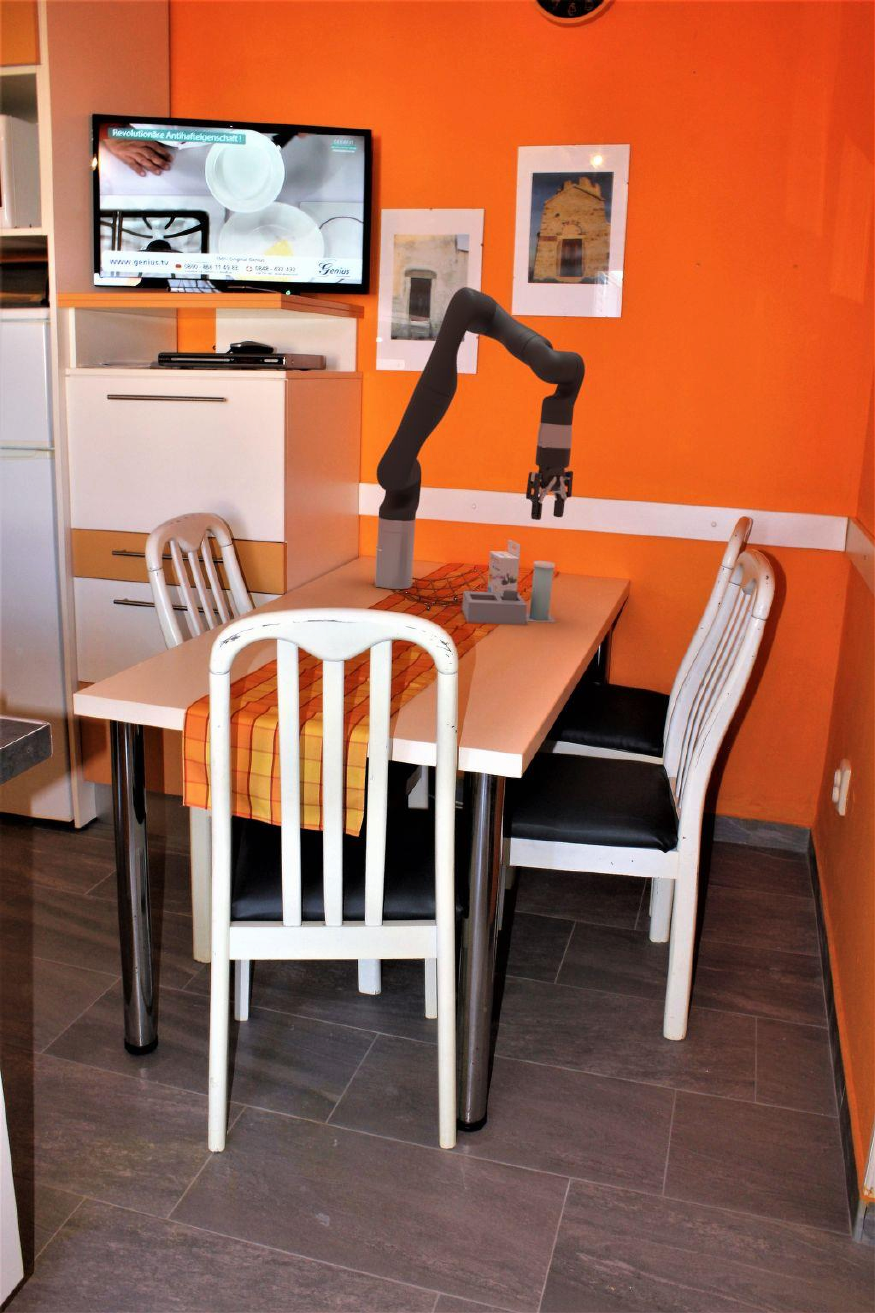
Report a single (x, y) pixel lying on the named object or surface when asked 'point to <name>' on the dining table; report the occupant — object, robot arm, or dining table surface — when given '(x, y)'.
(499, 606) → the housing
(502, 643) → the dining table surface
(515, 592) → the plunger
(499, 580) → the ink box
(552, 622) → the mat
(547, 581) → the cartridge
